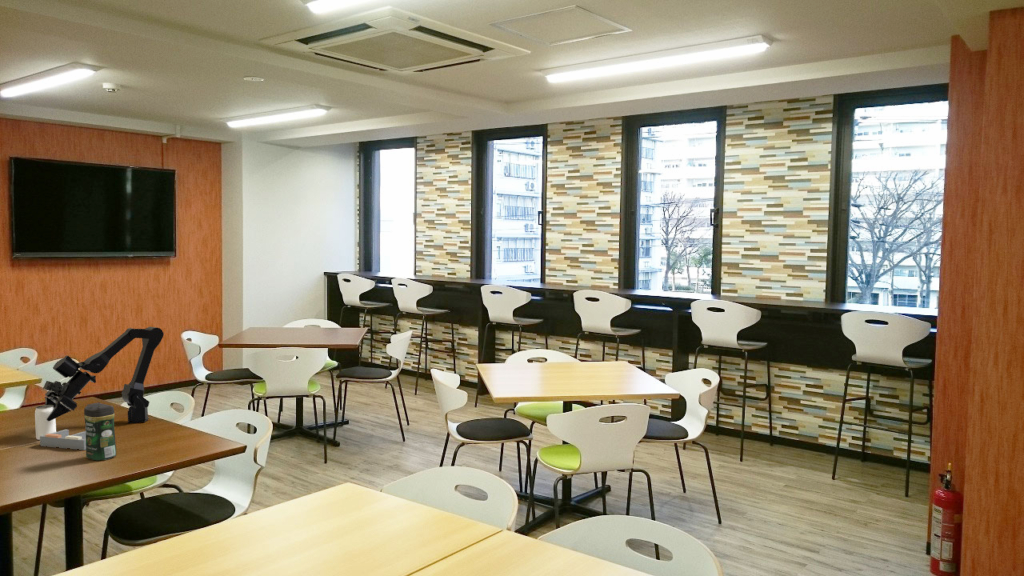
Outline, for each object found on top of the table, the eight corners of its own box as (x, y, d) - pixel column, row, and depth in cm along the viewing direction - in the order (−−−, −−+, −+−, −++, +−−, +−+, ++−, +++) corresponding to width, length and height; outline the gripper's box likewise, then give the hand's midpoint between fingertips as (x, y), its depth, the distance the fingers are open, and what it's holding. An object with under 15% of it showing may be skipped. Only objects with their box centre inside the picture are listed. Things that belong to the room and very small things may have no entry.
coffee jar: (82, 458, 251) (79, 404, 250) (106, 452, 258) (103, 399, 256) (96, 462, 246) (93, 407, 244) (120, 457, 252) (117, 403, 251)
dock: (66, 438, 277) (65, 427, 277) (108, 442, 271) (108, 430, 271) (40, 445, 267) (39, 434, 267) (84, 450, 261) (83, 438, 261)
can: (49, 440, 275) (47, 408, 274) (32, 440, 275) (30, 408, 275) (60, 435, 282) (58, 404, 281) (43, 435, 282) (41, 404, 281)
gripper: (49, 369, 287) (17, 402, 279) (66, 375, 274) (33, 409, 267) (73, 387, 293) (42, 419, 286) (90, 393, 281) (58, 427, 273)
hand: (43, 418), depth 278 cm, fingers open, 9 cm apart
